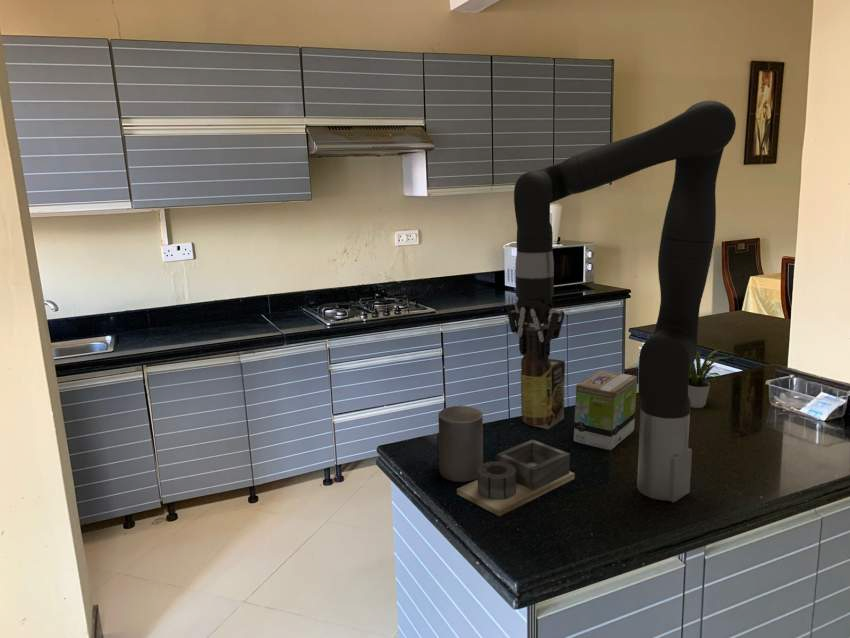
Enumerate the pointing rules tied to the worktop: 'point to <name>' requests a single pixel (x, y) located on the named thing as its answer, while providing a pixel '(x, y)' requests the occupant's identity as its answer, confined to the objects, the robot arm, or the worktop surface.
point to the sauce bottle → (535, 383)
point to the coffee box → (556, 393)
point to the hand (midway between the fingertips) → (534, 356)
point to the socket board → (518, 477)
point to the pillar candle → (460, 443)
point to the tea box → (605, 409)
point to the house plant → (700, 380)
